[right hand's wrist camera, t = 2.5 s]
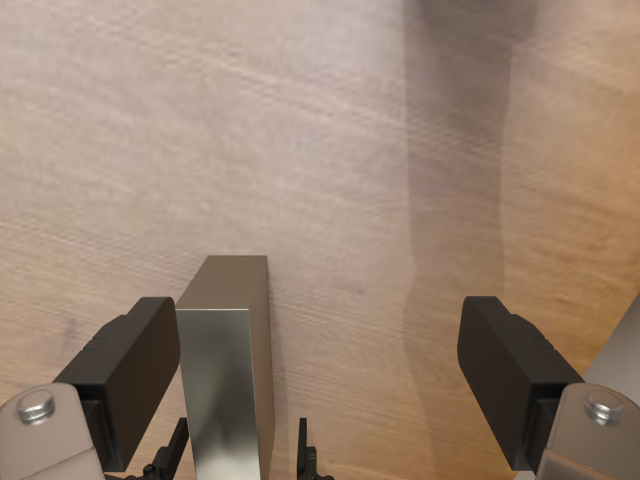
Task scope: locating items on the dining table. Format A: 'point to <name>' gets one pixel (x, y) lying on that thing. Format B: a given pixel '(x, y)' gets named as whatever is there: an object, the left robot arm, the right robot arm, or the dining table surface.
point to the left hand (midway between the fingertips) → (244, 426)
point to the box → (228, 368)
